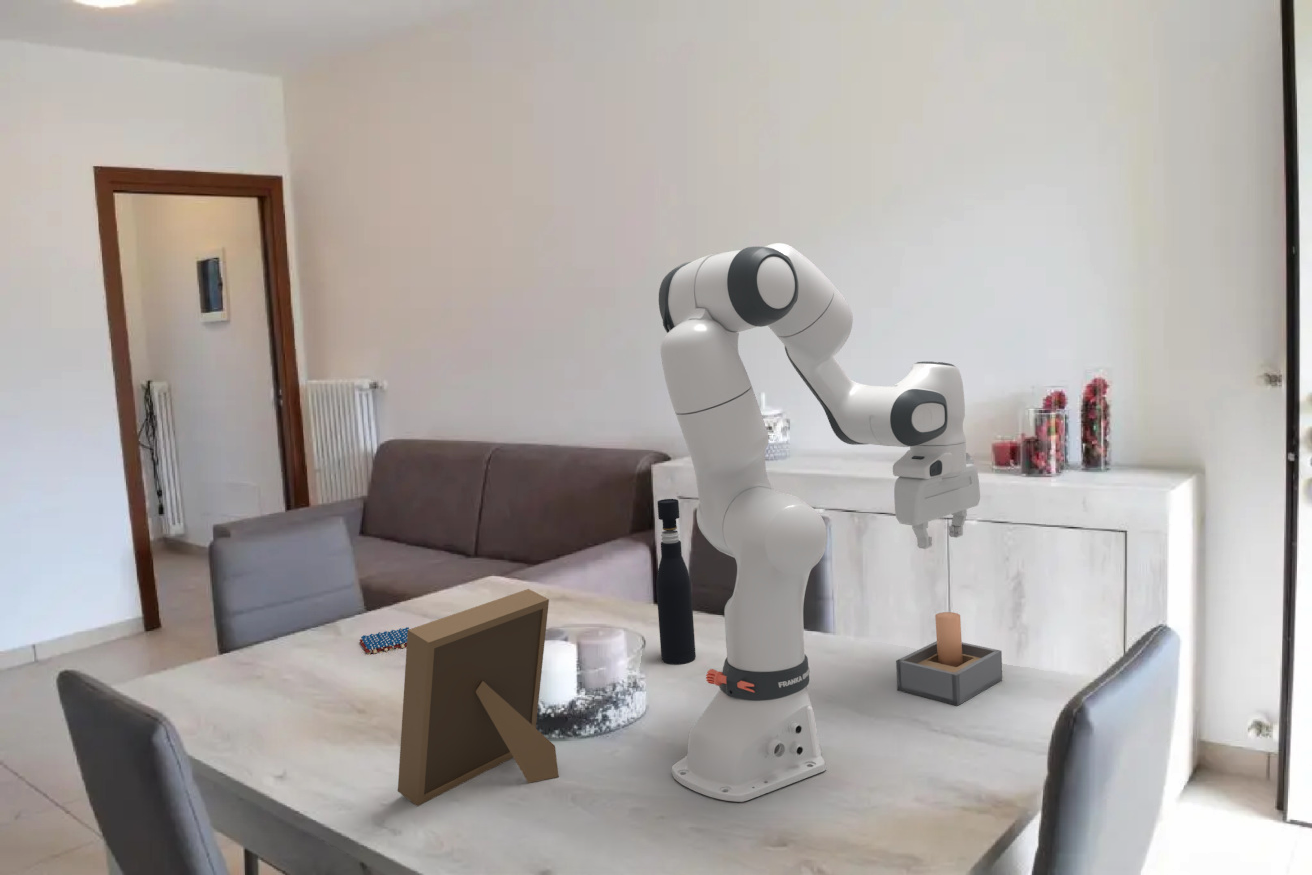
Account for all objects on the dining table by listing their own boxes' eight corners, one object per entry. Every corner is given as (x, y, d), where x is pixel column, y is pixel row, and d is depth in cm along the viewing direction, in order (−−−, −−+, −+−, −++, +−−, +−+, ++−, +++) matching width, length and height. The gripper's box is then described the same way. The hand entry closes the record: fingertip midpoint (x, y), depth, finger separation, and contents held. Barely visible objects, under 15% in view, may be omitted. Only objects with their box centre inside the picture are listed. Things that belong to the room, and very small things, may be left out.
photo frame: (398, 797, 139) (382, 623, 136) (514, 740, 155) (502, 583, 152) (468, 828, 129) (452, 641, 126) (584, 764, 146) (573, 597, 143)
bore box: (957, 705, 157) (956, 675, 156) (897, 689, 165) (896, 660, 164) (1002, 679, 166) (1001, 650, 166) (943, 665, 174) (942, 638, 174)
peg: (955, 679, 165) (951, 620, 164) (933, 674, 168) (930, 616, 167) (968, 672, 168) (964, 614, 167) (946, 667, 171) (943, 610, 170)
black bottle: (682, 666, 183) (671, 505, 179) (654, 661, 187) (643, 502, 183) (702, 655, 188) (692, 498, 184) (674, 650, 192) (664, 496, 188)
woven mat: (358, 644, 211) (357, 635, 211) (409, 634, 215) (408, 625, 215) (366, 658, 202) (365, 648, 201) (419, 648, 206) (418, 638, 206)
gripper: (955, 450, 174) (957, 528, 176) (886, 467, 160) (889, 551, 162) (988, 452, 169) (990, 532, 171) (920, 470, 156) (923, 556, 157)
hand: (940, 542), depth 166 cm, fingers open, 8 cm apart
